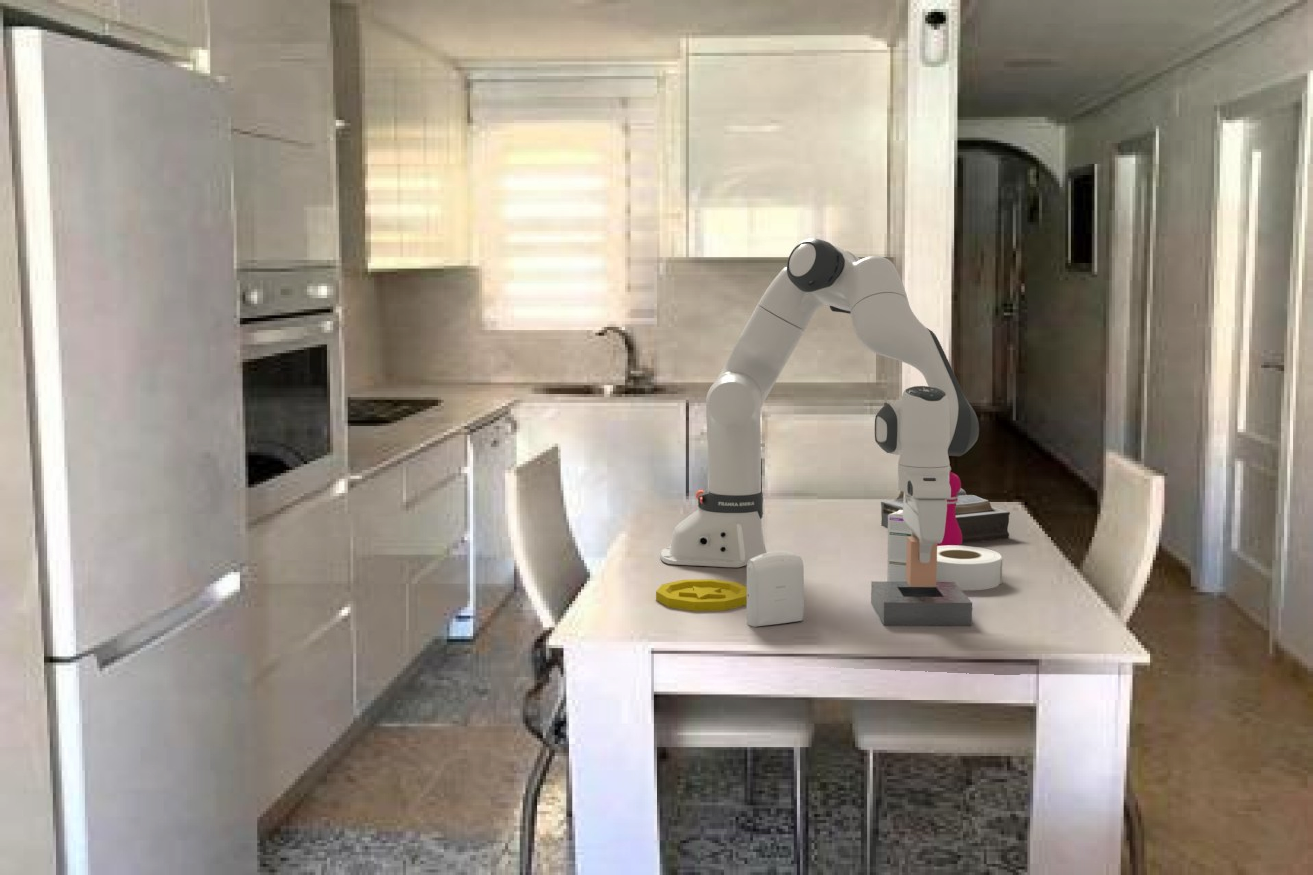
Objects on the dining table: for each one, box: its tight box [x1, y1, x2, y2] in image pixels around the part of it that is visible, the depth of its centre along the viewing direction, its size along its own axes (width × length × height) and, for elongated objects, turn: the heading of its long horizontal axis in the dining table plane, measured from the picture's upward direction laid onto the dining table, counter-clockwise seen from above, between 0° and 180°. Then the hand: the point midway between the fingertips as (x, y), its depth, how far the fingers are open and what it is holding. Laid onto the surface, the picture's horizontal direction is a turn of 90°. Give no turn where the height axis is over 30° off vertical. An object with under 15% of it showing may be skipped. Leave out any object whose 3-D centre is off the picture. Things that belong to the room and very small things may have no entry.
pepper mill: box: [937, 466, 963, 546], centre depth 276 cm, size 7×7×20 cm
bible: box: [880, 487, 1011, 544], centre depth 305 cm, size 23×27×10 cm
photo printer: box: [746, 550, 805, 628], centre depth 228 cm, size 10×4×12 cm, turn 112°
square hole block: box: [870, 580, 973, 627], centre depth 234 cm, size 15×15×4 cm
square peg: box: [906, 536, 937, 587], centre depth 233 cm, size 4×4×8 cm
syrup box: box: [886, 510, 911, 582], centre depth 253 cm, size 6×6×14 cm
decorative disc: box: [655, 578, 747, 612], centre depth 245 cm, size 17×18×2 cm
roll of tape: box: [936, 545, 1003, 591], centre depth 259 cm, size 16×16×6 cm
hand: (921, 558), depth 233 cm, fingers closed on square peg, 4 cm apart
